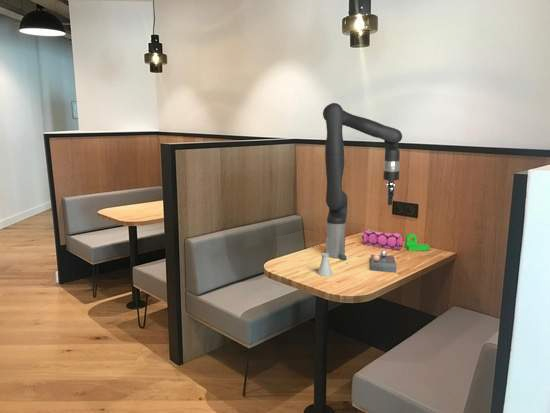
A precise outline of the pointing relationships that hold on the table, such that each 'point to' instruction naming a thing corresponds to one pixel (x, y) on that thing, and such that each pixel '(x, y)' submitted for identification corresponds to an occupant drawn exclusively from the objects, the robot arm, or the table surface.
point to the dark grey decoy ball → (343, 257)
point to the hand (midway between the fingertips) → (389, 204)
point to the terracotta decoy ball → (376, 258)
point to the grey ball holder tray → (383, 264)
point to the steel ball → (383, 253)
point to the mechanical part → (415, 244)
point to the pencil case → (382, 239)
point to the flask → (325, 266)
